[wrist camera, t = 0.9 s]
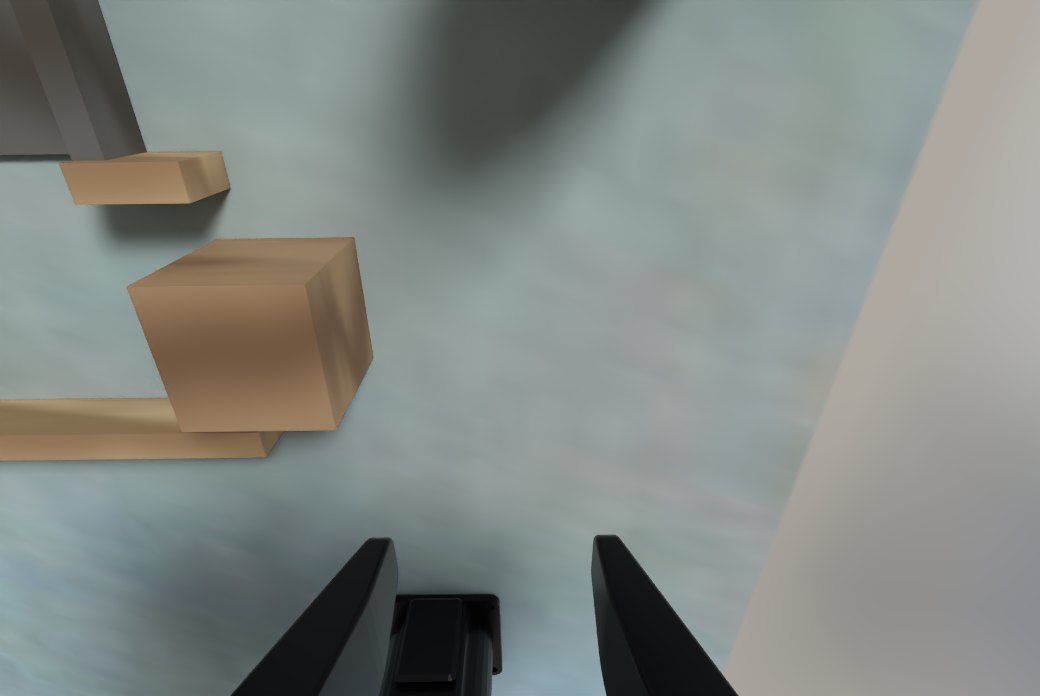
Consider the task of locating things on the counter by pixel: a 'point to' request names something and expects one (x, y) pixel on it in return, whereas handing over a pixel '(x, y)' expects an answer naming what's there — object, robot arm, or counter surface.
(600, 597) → the robot arm
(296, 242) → the walnut block
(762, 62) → the counter surface
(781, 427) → the counter surface
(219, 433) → the channel
